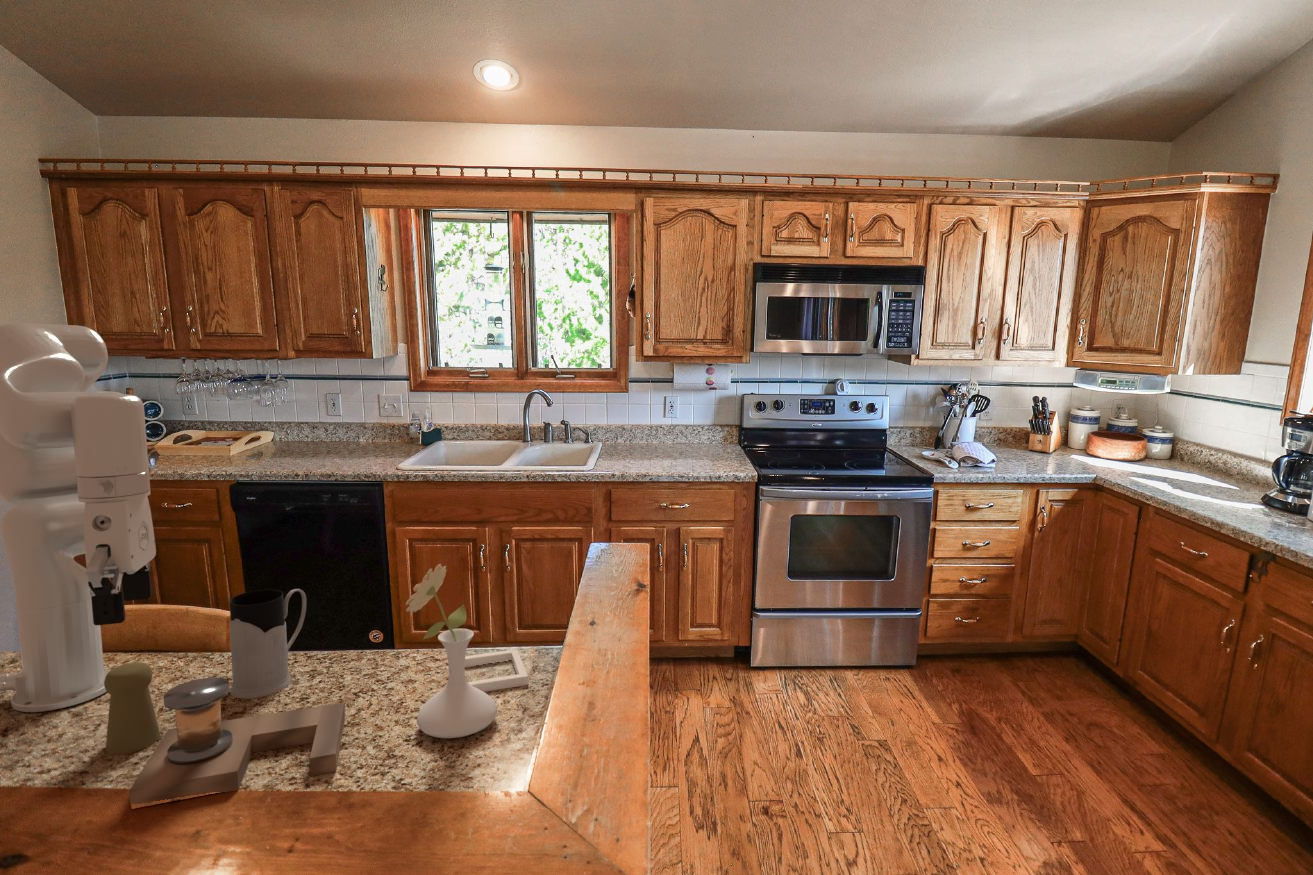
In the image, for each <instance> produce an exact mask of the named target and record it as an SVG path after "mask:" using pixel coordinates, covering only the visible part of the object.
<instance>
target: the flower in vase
mask: <svg viewBox="0 0 1313 875" xmlns="http://www.w3.org/2000/svg"><path fill="white" fill-rule="evenodd" d="M446 567H447V566H446V565H444V566H442V564H441V563H439V564H437V565H436V566H435V568H434V570H433V568H429V569H428V570H427V571H426V574H425V575H424V576H423V578H422V581H421V582H420V583H417V584H415V585H414V586H413V588H412V590H413V592H414V593H413V594H412V595H410V597H409V598H408V599H407V601H406V602H405V606H408V607H407V608H406V612H409V613H412V612H414V613H416V612H418V611H419V610H421V609H422V608H423V607H424V606H426V604H428V602H430V600H432V599H433V598H435V600H436V603H437V605H438V607H439V609H440V612H441V615H442V618H443V620H444V621H438V622H435V623H434V624H433V625H431V627H429V628H428V629H427V631H426V632H425V633H424V635H423V636H424V637H423V638H422V640H425V639H429V638H433V637H435V636H436V635H438V636H437V639H438V641H439V642H440V643H441V644H442V646H443V647H444V649H445V652H446V656H447V664H448V679H447V681H446V682H447V683H446V685H445V686H444V687H443V688H442V689H441V690H439V691H438V692H437V693H435V694H434V695H433V696H432V697H431V698H429V699H428V700H427V701H426V702H425V703H424V704H423V705H422V706H421V708H420V709H419V712H418V714H417V717H416V725H417V726H418V728H419V729H420V730H421V731H422V732H423V733H424V734H426V735H427V736H430V737H434V738H439V739H454V738H456V739H457V738H462V737H467V736H470V735H472V734H473V735H474V734H476V733H478V732H481V731H482V730H483V729H485V728H487V727H488V726H489V725H491V723H492V722H493V720H494V719H495V718H496V716H497V714H498V706H497V704H496V702H495V700H494V699H493V697H491V696H490V695H489V694H487V693H486V691H485V692H483V691H481V690H479V689H477V688H475V687H473V686H472V685H470V684H469V683H468V682H469V681H468V680H467V678H466V672H465V671H466V670H465V668H466V667H465V656H466V653H467V649H468V646H469V643H470V642H471V640H472V639H473V637H474V635H475V634H474V631H473V630H471V629H468V628H459V627H461V626H463V625H464V624H465V623H466V622H467V618H468V616H467V611H466V607H465V605H464V604H462V605H461V606H460V607H458V608H457V609H456V610H455V611H453V612H452V613H451V614H450V615H449V616H448V617H446V614H445V610H444V608H443V605H442V603H441V601H440V598H439V597H438V595H437V592H438V590H439V589H440V587H442V586H443V583H444V580H445V577H446V573H447V571H448V570H447V569H446ZM445 625H446V627H447V628H448V630H444V631H442V632H441V633H440V631H441V630H442V629H443V627H444V626H445ZM439 633H440V634H439Z"/></svg>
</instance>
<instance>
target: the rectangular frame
mask: <svg viewBox="0 0 1313 875" xmlns="http://www.w3.org/2000/svg"><path fill="white" fill-rule="evenodd" d="M506 660H512V661H513V663H512V666H513V665H514V666H513V668H515V669H514V671H515V670H516V671H515V674H510V675H506V676H505V675H504V676H498V677H492V678H484V679H479V680H472V681H467V682H468V683H469V684H470V685H472V686H473V687H475V688H477V689H479V690H481V691H483V692H485V693H486V692H491V691H497V690H503V689H509V688H516V687H521V686H528V685H529V675H528V673H527V670H526V667H525V665H524V662H523V660H522V658H521V656H520V652H519V651H518V648H517V649H507V650H502V651H501V650H500V651H494V652H493V651H492V652H488V653H487V652H486V653H479V654H474V655H465V668H470V667H477V666H476V665H479V666H484V665H483V664H486V663H492V662H496V661H497V662H498V661H506ZM512 661H511V662H512ZM486 665H487V664H486ZM516 673H517V674H516Z"/></svg>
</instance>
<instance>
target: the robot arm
mask: <svg viewBox="0 0 1313 875" xmlns="http://www.w3.org/2000/svg"><path fill="white" fill-rule="evenodd" d="M108 354H109V353H108V349H107V344H106V343H105V341H104V339H103V337H102V336H101V335H100V334H98V332H97V331H95V330H93V329H91V328H89V327H87V326H84V325H78V324H77V325H76V324H73V325H71V324H56V323H55V324H54V323H50V324H49V323H47V324H46V323H37V322H36V323H34V322H13V323H5V324H1V325H0V496H1V498H2V499H3V500H5V501H6V502H7V503H8V504H12V505H14V506H12V507H10V508H9V509H8V510H6V511H5V512H4V514H3V515H2V517H1V519H0V536H1V539H2V542H3V545H4V548H5V552H6V555H7V558H8V561H9V564H10V570H11V574H12V580H13V587H14V596H15V606H16V615H17V627H18V637H19V648H20V657H21V658H20V659H21V670H19V671H18V672H16V673H15V672H14V673H10V672H9V673H8V672H7V673H0V692H6V691H12V692H15V693H14V694H13V695H12V696H11V699H10V704H11V708H12V709H13V710H16V711H19V712H23V713H41V712H42V713H43V712H48V711H49V712H50V711H54V710H59V709H60V710H61V709H64V708H67V707H73V706H76V705H79V704H82V703H83V704H84V703H85V702H87V701H90V700H93V699H95V698H97V697H99V696H102V695H103V694H105V693H108V692H107V691H106V689H105V686H104V681H105V677H106V675H107V674H108V672H110V671H111V670H112V669H108V668H105V667H104V656H103V655H104V653H103V641H102V631H101V630H102V629H101V626H104V625H106V626H107V625H115V624H122V623H123V622H125V620H126V611H125V610H126V609H125V608H126V607H125V601H126V602H129V601H140V600H148V599H150V598H152V595H153V592H152V582H151V581H152V580H151V570H150V567H151V564H150V562H151V561H152V560H153V559H155V557H156V555H157V549H156V548H157V546H156V539H155V532H154V524H153V516H152V511H151V505H150V502H149V498H148V496H150V495H151V482H150V469H149V459H148V443H147V430H146V429H147V427H146V415H145V414H146V413H145V406H144V403H143V400H142V399H141V398H140V397H138V396H137V395H134V394H129V393H128V394H126V393H122V392H117V391H110V390H107V391H106V390H105V391H103V390H102V391H101V390H100V391H96V390H95V391H94V390H93V391H88V389H89V388H90V387H91V386H92V385H93V384H95V383H96V381H97V380H98V379H99V378H100V377H101V376H102V375H103V374H104V373H105V370H106V368H107V365H108V361H109V360H108V359H109V355H108ZM80 555H85V564H86V567H84V566H83V565H81V564H80V563H78V562H77V561H76V560H75V559H74V558H75V557H77V556H80ZM110 578H112V581H111V580H110ZM121 586H122V591H121Z"/></svg>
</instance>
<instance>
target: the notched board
mask: <svg viewBox="0 0 1313 875" xmlns="http://www.w3.org/2000/svg"><path fill="white" fill-rule="evenodd" d="M345 712H346V707H345V702H339V703H331V704H326V705H318V706H313V707H305V708H300V709H293V710H292V709H291V710H287V711H279V712H272V713H266V714H259V715H254V716H253V715H252V716H248V717H241V718H233V719H227V720H221V721H222V729H225V730H228V731H230V732H231V733H232V738H233V743H232V745H231V746H230V748H229V749H228V750H226V751H225V752H224V753H222V754H220V755H219V756H217V757H215V758H212V759H210V760H207V761H204V762H200V763H196V764H190V765H176V764H172V763H170V762H169V761H168V754H167V751H168V749H169V747H170V746H171V745H172V744H173V743H174V742H176V741H177V728H176V727H175V728H169V729H167V730H166V732H165V734H164V735H163V737H162V738H161V740H160V741H159V743H158V744H157V746H156V748H155V749H154V750H153V752H152V754H151V756H150V757H149V758H148V760H147V762H146V764H145V765H144V766H143V768H142V769H141V771H140V773H139V775H138V776H137V777H136V779H135V780H134V782H133V784H132V785H131V787H130V788H129V802H130V805H131V804H141V803H150V802H153V801H160V800H165V799H167V800H168V799H174V798H177V797H185V796H190V795H199V794H206V793H210V792H211V793H212V792H225V793H230V792H235V791H239V790H240V787H241V785H242V782H243V780H244V777H245V774H246V772H247V770H248V769H247V768H248V767H249V763H250V760H251V758H252V755H253V753H259V752H264V751H265V752H266V751H270V750H276V749H283V748H288V747H294V746H300V745H305V744H310V743H312V746H311V747H312V748H311V752H310V756H309V771H310V772H309V773H310V777H315V776H320V775H326V774H332V773H336V772H337V770H338V762H339V757H340V752H341V751H340V750H341V745H342V739H343V732H344V727H345V720H346V715H345V714H346V713H345ZM229 791H230V792H229Z"/></svg>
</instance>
